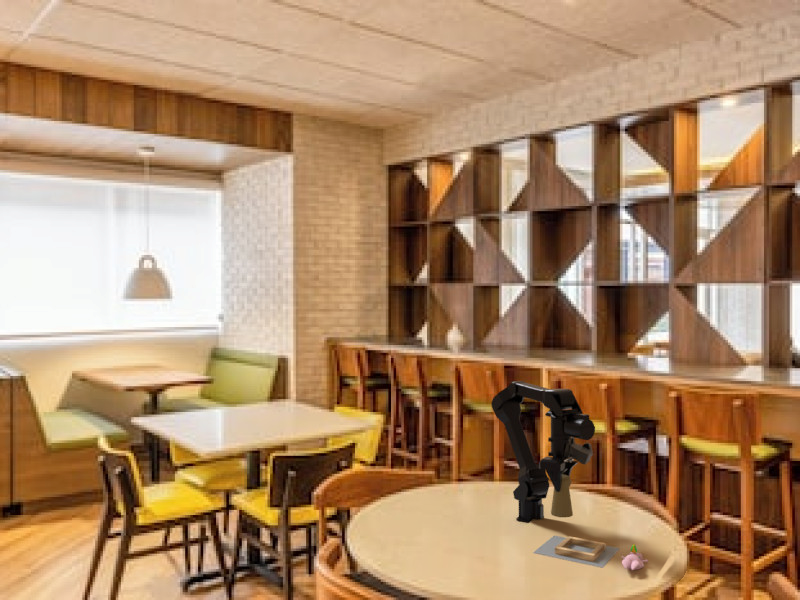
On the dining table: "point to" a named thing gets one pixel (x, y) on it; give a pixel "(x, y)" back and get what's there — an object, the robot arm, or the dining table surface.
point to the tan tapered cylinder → (562, 499)
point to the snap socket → (592, 556)
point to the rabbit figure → (633, 559)
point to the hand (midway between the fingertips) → (561, 489)
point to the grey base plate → (601, 561)
